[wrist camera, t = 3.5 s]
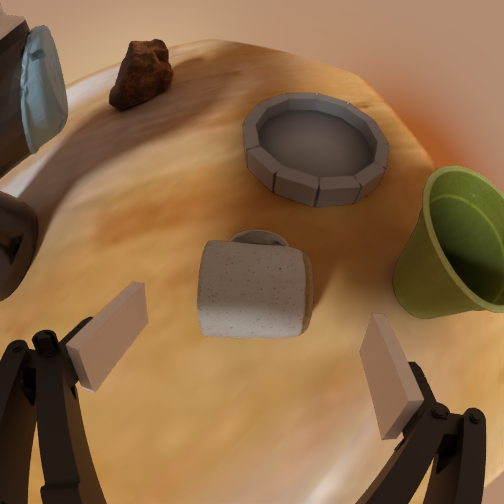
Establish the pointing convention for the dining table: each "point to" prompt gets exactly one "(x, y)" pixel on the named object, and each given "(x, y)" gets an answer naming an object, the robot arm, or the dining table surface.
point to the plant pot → (454, 248)
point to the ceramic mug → (254, 287)
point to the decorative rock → (141, 74)
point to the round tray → (314, 149)
